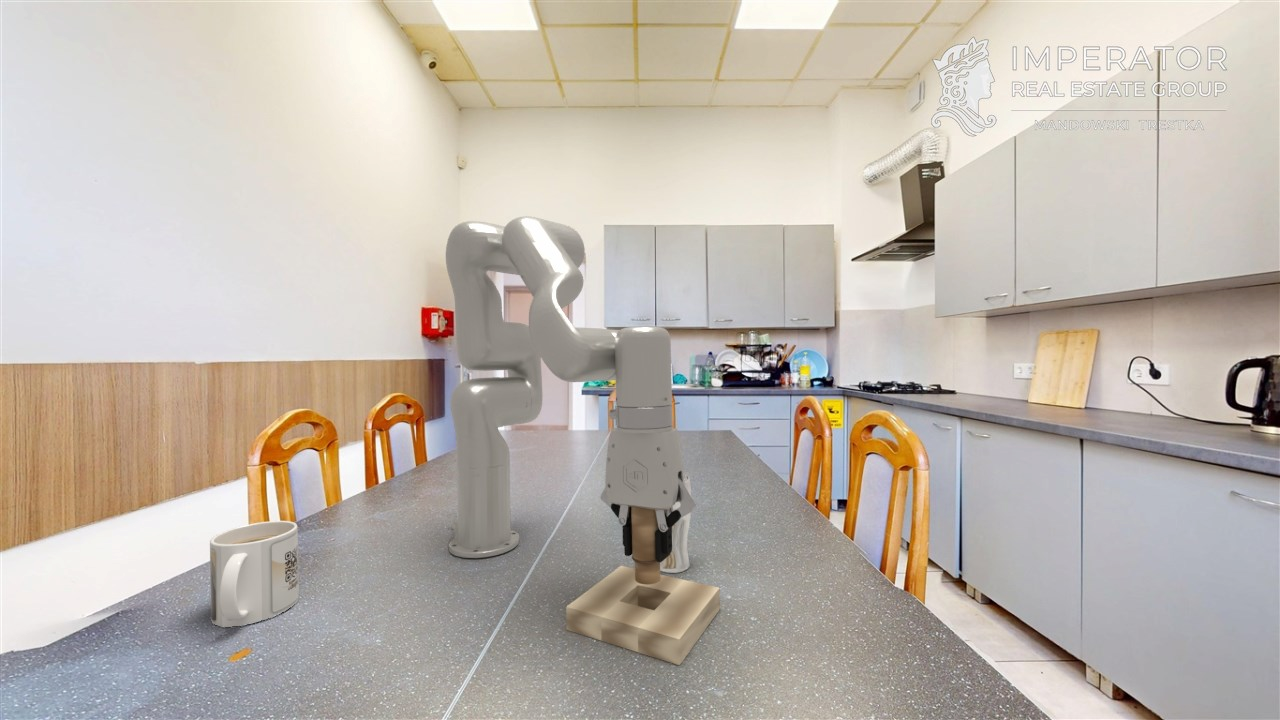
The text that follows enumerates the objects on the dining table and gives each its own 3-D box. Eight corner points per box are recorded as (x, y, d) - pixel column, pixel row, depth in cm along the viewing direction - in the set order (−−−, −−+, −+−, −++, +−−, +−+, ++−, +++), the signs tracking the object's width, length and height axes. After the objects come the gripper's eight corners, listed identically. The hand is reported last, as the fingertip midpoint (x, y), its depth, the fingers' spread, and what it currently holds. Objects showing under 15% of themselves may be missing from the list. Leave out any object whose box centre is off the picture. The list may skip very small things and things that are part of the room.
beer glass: (689, 576, 79) (689, 483, 79) (647, 572, 80) (646, 481, 80) (693, 558, 85) (693, 473, 85) (654, 555, 87) (653, 471, 87)
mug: (318, 599, 72) (317, 524, 72) (226, 644, 61) (225, 556, 61) (268, 588, 76) (267, 517, 76) (173, 629, 64) (172, 546, 64)
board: (566, 629, 63) (566, 606, 63) (621, 584, 76) (620, 565, 76) (679, 665, 56) (679, 639, 56) (719, 609, 68) (719, 587, 68)
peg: (627, 582, 65) (624, 491, 65) (641, 570, 68) (639, 484, 68) (654, 588, 63) (652, 494, 63) (668, 575, 66) (666, 487, 66)
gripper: (577, 419, 66) (580, 555, 66) (691, 424, 58) (695, 578, 58) (606, 414, 73) (609, 537, 73) (713, 417, 65) (716, 555, 65)
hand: (647, 553), depth 66 cm, fingers closed on peg, 4 cm apart
